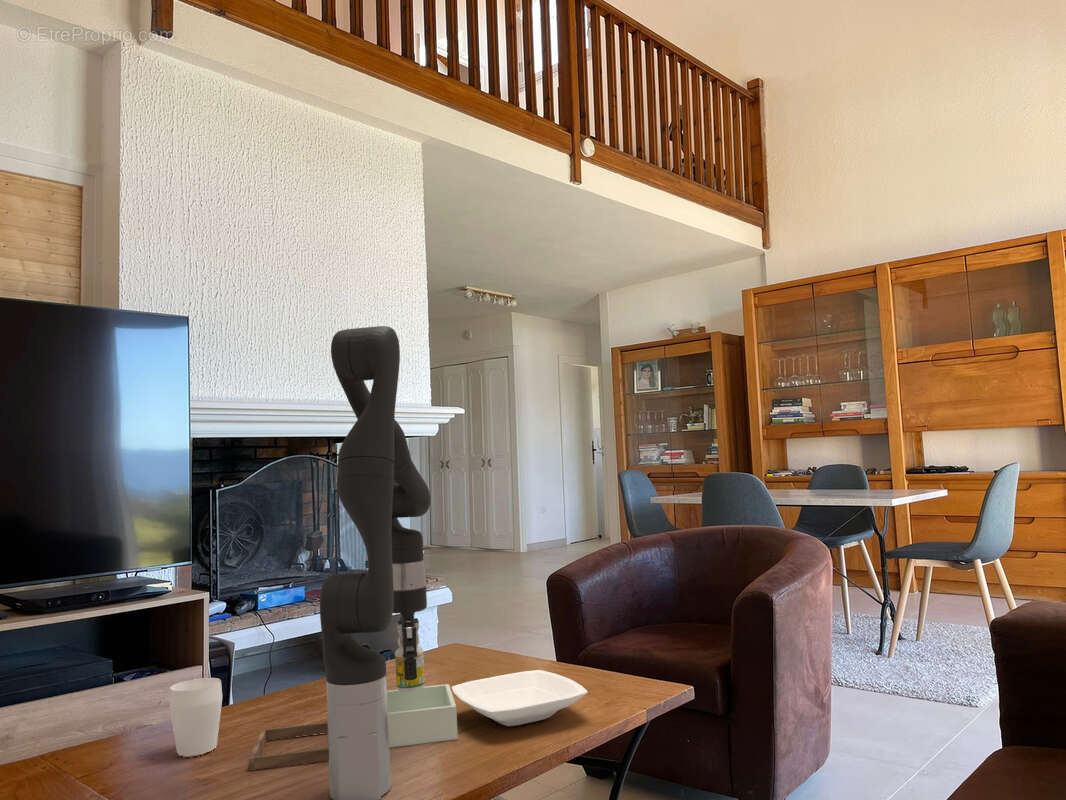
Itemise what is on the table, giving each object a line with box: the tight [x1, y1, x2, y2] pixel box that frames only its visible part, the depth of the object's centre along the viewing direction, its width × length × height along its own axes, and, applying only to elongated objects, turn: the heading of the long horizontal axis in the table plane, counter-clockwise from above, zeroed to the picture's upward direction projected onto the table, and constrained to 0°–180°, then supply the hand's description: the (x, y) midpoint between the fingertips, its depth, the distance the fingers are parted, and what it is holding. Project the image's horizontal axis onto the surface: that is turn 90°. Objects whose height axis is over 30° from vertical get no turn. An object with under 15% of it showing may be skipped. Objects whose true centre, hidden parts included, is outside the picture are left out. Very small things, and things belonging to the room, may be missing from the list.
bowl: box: [451, 669, 589, 727], centre depth 153 cm, size 22×23×6 cm
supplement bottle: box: [394, 635, 426, 692], centre depth 150 cm, size 5×5×10 cm
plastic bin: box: [387, 683, 459, 749], centre depth 149 cm, size 16×16×6 cm
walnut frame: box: [248, 721, 329, 771], centre depth 142 cm, size 16×16×2 cm
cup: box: [168, 677, 223, 756], centre depth 144 cm, size 9×9×12 cm
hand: (410, 674), depth 149 cm, fingers closed on supplement bottle, 5 cm apart
